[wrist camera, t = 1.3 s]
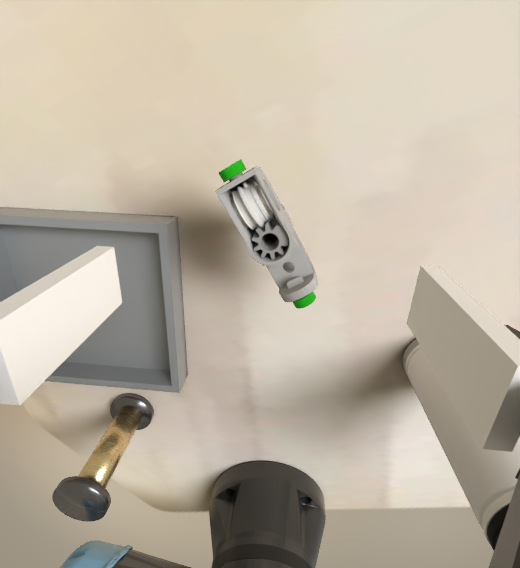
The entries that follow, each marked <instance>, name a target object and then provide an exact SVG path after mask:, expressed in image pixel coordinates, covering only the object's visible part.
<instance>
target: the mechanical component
mask: <svg viewBox="0 0 520 568" xmlns="http://www.w3.org/2000/svg"><path fill="white" fill-rule="evenodd" d="M244 170H246V168H245V166H244V164H243V162H242V160H239V161H237V162H236V163H234V164H232V165H231V166H229V167H227V168H226V169H224V170H222V171H221V172H219V174H220V176H221V178H222V179H223V181H224V182H226V181H227V180H229V181H230V182H229V183H227V184H225V185H224V186H222V187H220V188H219V189H218V190H216V191H215V192H216V194H217V195H218V197H219V199H220V200H221V202H222V204H223V206H224V207H225V209H226V211H227V212H228V214H229V216H230V217H231V219H232V221H233V223H234V224H235V226H236V228H237V229H238V231H239V233H240V234H241V236H242V238H243V240H244V241H245V243H246V246H247V250H248V253H249V254H250V256H251V257H252V258H253V259H254V260H255V261H257V262H258V263H260V264H262V265H263V266H264V265H266V267H267V268H268V270H269V272H270V274H271V275H272V277H273V279H274V280H275V282H276V284H277V286H278V287H279V293H280V295H281V297H282V298H283V300H284V301H285V302H292V301H293V303H294V305H295V307H296V308H304V307H306V306H308V305H310V304H311V303H312V302H313V301H314V300H315V298H316V296H315V294H314V293H313V290H314V289H315V288H316V287H317V285H318V282H317V276H316V273H315V270H314V267H313V265H312V263H311V261H310V259H309V257H308V255H307V253H306V251H305V249H304V247H303V245H302V244H301V242H300V240H299V238H298V236H297V234H296V232H295V230H294V228H293V225H292V222H291V220H290V217H289V215H288V213H287V212H286V211H285V209H284V207H283V205H282V204H280V202H279V200H278V198H277V196H276V194H275V192H274V191H273V189H272V187H271V185H270V183H269V181H268V179H267V177H266V176H265V174H264V172H263V171H262V170H261V168H260V167H258V168H257V166H256V167H254V168H253V169H251V170H249V171H247V172H246V173H244V174H242V171H244Z"/></svg>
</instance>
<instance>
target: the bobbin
mask: <svg viewBox="0 0 520 568" xmlns="http://www.w3.org/2000/svg"><path fill="white" fill-rule="evenodd" d="M110 412H111V415H112V417H113V419H114V420H113V421H112V423H111V425H110V426H109V428H108V429H107V431H106V433H105V434H104V436H103V437H102V439H101V441H100V442H99V444H98V445H97V447H96V449H95V450H94V452H93V453H92V455H91V457H90V458H89V460H88V461H87V463H86V465H85V466H84V468H83V470H82V471H81V473H80V474H79V476H78V477H77V476H75V477H68V478H65V479H64V480H62V481H61V482H60V483H59V485H58V486H57V488H56V489H55V491H54V493H53V502H54V504H55V506H56V507H57V508H58V509H59V510H60V511H61V512H62V513H64V514H65V515H67V516H69V517H71V518H73V519H77V520H81V521H95V520H99V519H101V518H102V517H103V516H104V515H105V514H106V512H107V510H108V508H109V506H110V503H111V498H110V495H109V493H108V492H107V490H106V489H105V488H106V486H107V484H108V482H109V480H110V478H111V476H112V474H113V473H114V471H115V469H116V467H117V465H118V463H119V461H120V459H121V457H122V455H123V454H124V452H125V450H126V448H127V446H128V444H129V442H130V440H131V438H132V436H133V435H134V433H135V431H136V430H140V429H143V428H145V427H147V426H148V425H149V424H150V422H151V420H152V418H153V415H154V410H153V407H152V405H151V404H150V403H149V401H148V400H146V399H145V398H144V397H142V396H140V395H137V394H132V393H126V394H122V395H120V396H118V397H117V398H116V399H115V401H114V402H113V404H112V405H111V409H110Z"/></svg>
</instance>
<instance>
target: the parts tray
mask: <svg viewBox="0 0 520 568" xmlns="http://www.w3.org/2000/svg"><path fill="white" fill-rule="evenodd" d="M96 246H108V247H114V250H115V257H116V263H117V270H118V277H119V283H120V290H121V297H122V304H121V305H120V306H119V307H118V308H117V309H116V310H115V311H114V312H113V313H112V314H111V315H110V316H109V317H108V318H107V319H106V320H105V321H104V322H103V323H102V324H101V325H100V326H99V327H98V328H97V329H96V330H95V331H94V332H93V333H92V334H91V335H90V336H89V337H88V338H87V339H86V340H85V341H84V342H83V343H82V344H81V345H80V346H79V347H78V348H77V349H76V350H75V351H74V352H73V353H72V354H71V355H70V356H69V357H68V358H67V359H66V360H65V361H64V362H63V363H62V364H61V365H60V366H59V367H58V368H57V369H56V370H55V371H54V372H53V373H52V374H51V375H50V376H49V377H48V378H47V379H46V380H45V381H51V382H62V383H74V384H85V385H97V386H109V387H120V388H132V389H143V390H155V391H166V392H178V393H180V391H181V389H182V386H183V384H184V382H185V379H186V377H187V375H188V373H187V357H186V341H185V325H184V309H183V293H182V277H181V261H180V245H179V229H178V217H174V216H156V215H137V214H119V213H100V212H82V211H64V210H45V209H27V208H8V207H0V302H1V301H3V300H4V299H6V298H8V297H10V296H12V295H14V294H15V293H17V292H19V291H20V290H22V289H24V288H26V287H27V286H29V285H31V284H32V283H34V282H36V281H38V280H39V279H41V278H43V277H45V276H46V275H48V274H50V273H51V272H53V271H55V270H57V269H58V268H60V267H62V266H63V265H65V264H67V263H69V262H70V261H72V260H74V259H75V258H77V257H79V256H81V255H82V254H84V253H86V252H87V251H89V250H91V249H93V248H94V247H96Z"/></svg>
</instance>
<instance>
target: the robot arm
mask: <svg viewBox="0 0 520 568" xmlns="http://www.w3.org/2000/svg"><path fill="white" fill-rule="evenodd" d="M121 304H122V297H121V290H120V283H119V277H118V270H117V263H116V257H115V250H114V247H108V246H96V247H94V248H93V249H91V250H89V251H87V252H86V253H84V254H82V255H81V256H79V257H77V258H75V259H74V260H72V261H70V262H69V263H67V264H65V265H63V266H62V267H60V268H58V269H57V270H55V271H53V272H51V273H50V274H48V275H46V276H45V277H43V278H41V279H39V280H38V281H36V282H34V283H32V284H31V285H29V286H27V287H26V288H24V289H22V290H20V291H19V292H17V293H15V294H14V295H12V296H10V297H8V298H6V299H4V300H3V301H1V302H0V404H9V405H21V404H22V403H23V402H24V401H25V400H26V399H27V398H28V397H29V396H30V395H31V394H32V393H33V392H34V391H35V390H36V389H37V388H38V387H39V386H40V385H41V384H42V383H43V382H44V381H45V380H46V379H47V378H48V377H49V376H50V375H51V374H52V373H53V372H54V371H55V370H56V369H57V368H58V367H59V366H60V365H61V364H62V363H63V362H64V361H65V360H66V359H67V358H68V357H69V356H70V355H71V354H72V353H73V352H74V351H75V350H76V349H77V348H78V347H79V346H80V345H81V344H82V343H83V342H84V341H85V340H86V339H87V338H88V337H89V336H90V335H91V334H92V333H93V332H94V331H95V330H96V329H97V328H98V327H99V326H100V325H101V324H102V323H103V322H104V321H105V320H106V319H107V318H108V317H109V316H110V315H111V314H112V313H113V312H114V311H115V310H116V309H117V308H118V307H119V306H120V305H121ZM407 324H408V326H409V328H410V329H411V331H412V333H413V334H414V336H415V338H416V339H417V341H418V343H419V344H420V346H421V348H422V349H423V351H424V353H425V354H426V356H427V358H428V359H429V361H430V363H431V364H432V366H433V368H434V369H435V371H436V373H437V374H438V376H439V378H440V379H441V381H442V383H443V384H444V386H445V388H446V389H447V391H448V393H449V394H450V396H451V398H452V399H453V401H454V402H455V404H456V406H457V407H458V409H459V411H460V412H461V414H462V416H463V417H464V419H465V421H466V422H467V424H468V426H469V427H470V429H471V431H472V432H473V434H474V436H475V437H476V439H477V441H478V442H479V444H480V446H481V447H482V449H487V450H498V451H509V452H512V451H513V449H514V447H515V445H516V443H517V441H518V439H519V437H520V332H519V331H517V330H516V329H514V328H512V327H510V326H508V325H503V324H502V323H501V322H500V321H499V320H498V319H497V318H496V317H495V316H493V315H492V314H491V313H490V312H489V311H488V310H487V309H486V308H485V307H484V306H482V305H481V304H480V303H479V302H478V301H477V300H476V299H475V298H474V297H473V296H471V295H470V294H469V293H468V292H467V291H466V290H465V289H464V288H463V287H462V286H460V285H459V284H458V283H457V282H456V281H455V280H454V279H453V278H452V277H450V276H449V275H448V274H447V273H446V272H445V271H444V270H443V269H442V268H441V267H434V266H421V267H420V271H419V275H418V279H417V283H416V287H415V291H414V295H413V300H412V304H411V308H410V312H409V316H408V320H407ZM515 478H516V479H518V481H517V484H516V487H515V490H514V493H513V496H512V499H511V502H510V505H509V508H508V511H507V514H506V517H505V520H504V523H503V526H502V529H501V532H500V535H499V538H498V541H497V544H496V547H495V550H494V553H493V556H492V560H491V562H490V565H489V568H520V469H519V471H518V473H517V475H516V477H515ZM209 514H210V525H211V537H212V548H213V563H212V568H315V566H316V562H317V557H318V553H319V548H320V544H321V539H322V535H323V530H324V526H325V505H324V497H323V494H322V491H321V489H320V488H319V486H318V485H317V484H316V482H315V481H314V480H313V479H312V478H310V477H309V476H308V475H307V474H305V473H303V472H302V471H300V470H298V469H296V468H294V467H291V466H288V465H285V464H281V463H276V462H267V461H257V462H248V463H244V464H240V465H237V466H235V467H232V468H230V469H229V470H227V471H226V472H224V473H223V474H222V475H221V476H220V477H219V478H218V479H217V481H216V482H215V484H214V487H213V491H212V495H211V500H210V506H209ZM60 568H190V567H187V566H184V565H180V564H177V563H173V562H170V561H167V560H163V559H160V558H157V557H153V556H150V555H147V554H144V553H141V552H138V551H134V550H132V546H126V547H123V546H119V545H114V544H110V543H106V542H102V541H90V542H87V543H85V544H83V545H81V546H80V547H79V548H77V549H76V550H75V551H74V552H73V553H72V554H71V555H70V556H69V557H68V558H67V560H66V561H65V562H64V563H63V565H62V566H61V567H60Z"/></svg>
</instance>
